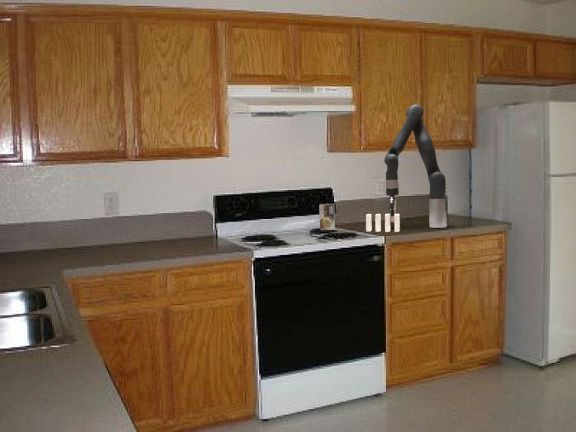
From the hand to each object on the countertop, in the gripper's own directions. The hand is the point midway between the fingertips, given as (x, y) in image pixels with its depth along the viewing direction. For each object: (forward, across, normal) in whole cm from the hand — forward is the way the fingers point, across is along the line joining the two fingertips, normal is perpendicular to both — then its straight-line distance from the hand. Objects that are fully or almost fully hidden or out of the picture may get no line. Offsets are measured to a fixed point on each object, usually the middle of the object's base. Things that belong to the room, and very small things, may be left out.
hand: (393, 215), depth 363 cm
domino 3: (+8, +12, -2) cm, 15 cm away
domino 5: (+8, +12, +4) cm, 15 cm away
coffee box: (+8, +7, -39) cm, 41 cm away
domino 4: (+3, 0, 0) cm, 3 cm away
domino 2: (+8, +12, -8) cm, 17 cm away
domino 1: (+8, +12, -13) cm, 20 cm away
